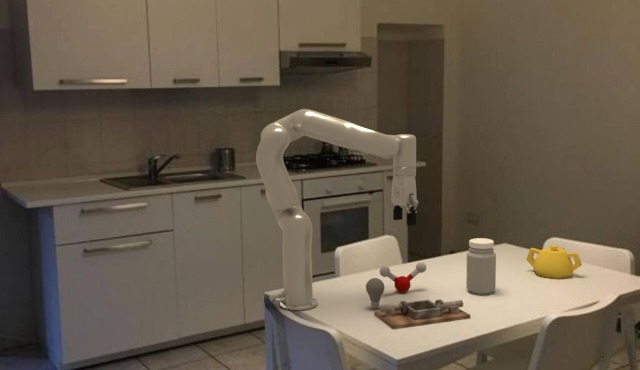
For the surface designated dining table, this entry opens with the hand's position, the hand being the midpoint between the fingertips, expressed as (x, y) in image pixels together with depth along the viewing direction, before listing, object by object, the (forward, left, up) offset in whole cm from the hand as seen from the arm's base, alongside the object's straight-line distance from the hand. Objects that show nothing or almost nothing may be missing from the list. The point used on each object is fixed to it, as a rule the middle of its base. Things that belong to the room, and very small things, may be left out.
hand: (404, 222), depth 239 cm
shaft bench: (-4, -21, -26) cm, 34 cm away
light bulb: (-14, -8, -26) cm, 31 cm away
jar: (+27, -5, -26) cm, 37 cm away
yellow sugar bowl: (+65, +5, -26) cm, 70 cm away
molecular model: (+2, +5, -26) cm, 26 cm away
